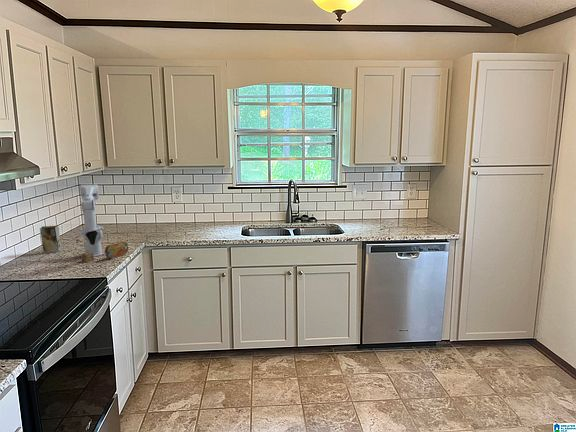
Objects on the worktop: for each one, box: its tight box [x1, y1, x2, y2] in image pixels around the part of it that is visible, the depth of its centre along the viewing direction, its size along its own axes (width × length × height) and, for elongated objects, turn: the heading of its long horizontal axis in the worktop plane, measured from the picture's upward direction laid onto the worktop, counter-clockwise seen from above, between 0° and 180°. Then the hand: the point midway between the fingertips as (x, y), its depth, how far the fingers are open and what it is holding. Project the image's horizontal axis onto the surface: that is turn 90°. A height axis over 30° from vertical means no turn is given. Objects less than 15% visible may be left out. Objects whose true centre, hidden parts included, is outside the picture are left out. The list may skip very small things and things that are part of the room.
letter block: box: [80, 252, 95, 263], centre depth 243 cm, size 5×4×5 cm
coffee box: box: [39, 225, 62, 254], centre depth 265 cm, size 9×6×16 cm
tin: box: [104, 241, 129, 260], centre depth 250 cm, size 15×3×8 cm, turn 153°
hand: (92, 244), depth 242 cm, fingers closed
